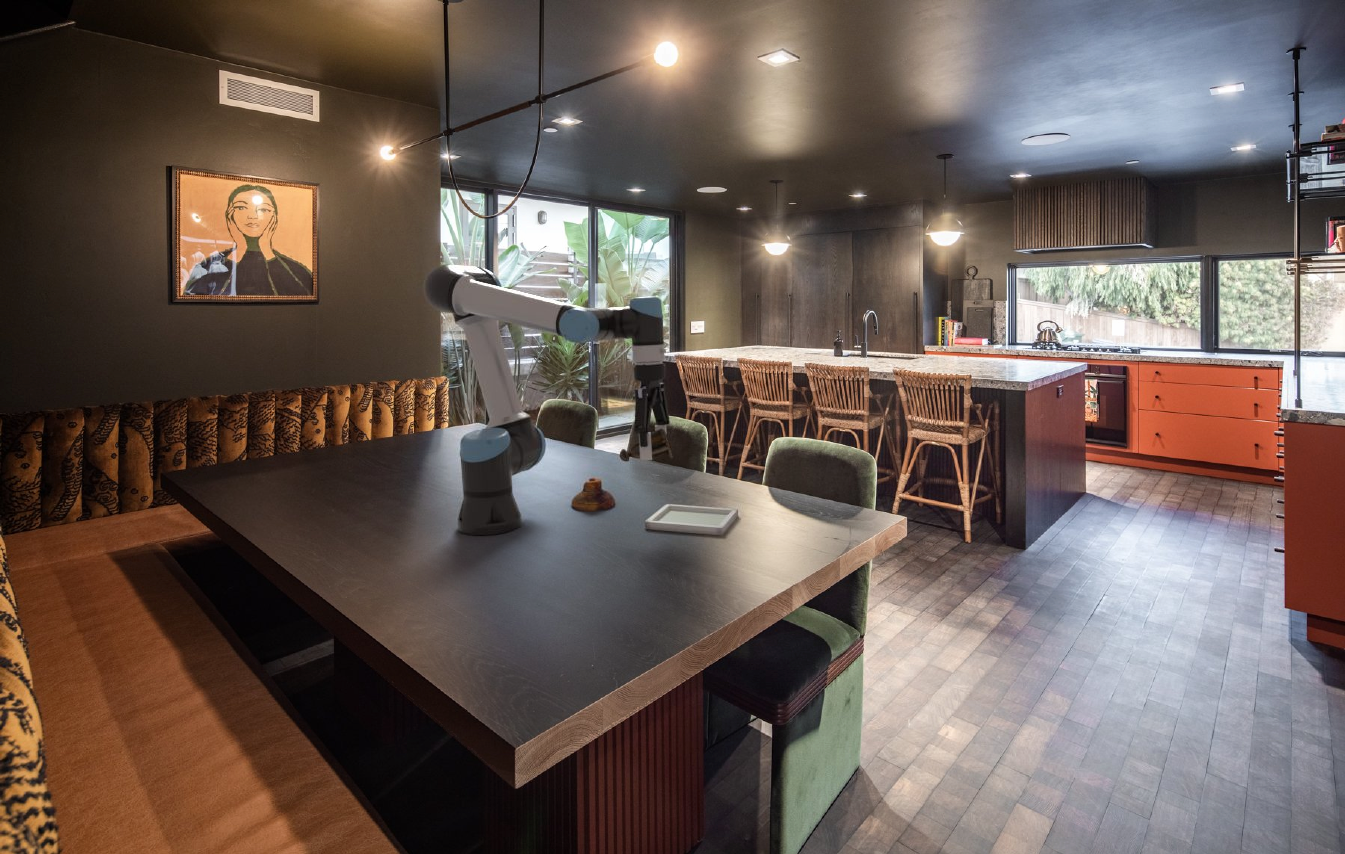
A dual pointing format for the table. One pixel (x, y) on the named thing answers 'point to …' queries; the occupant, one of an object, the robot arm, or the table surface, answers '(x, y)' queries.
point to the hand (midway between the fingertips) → (654, 455)
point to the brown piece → (658, 446)
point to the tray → (692, 519)
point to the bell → (593, 497)
